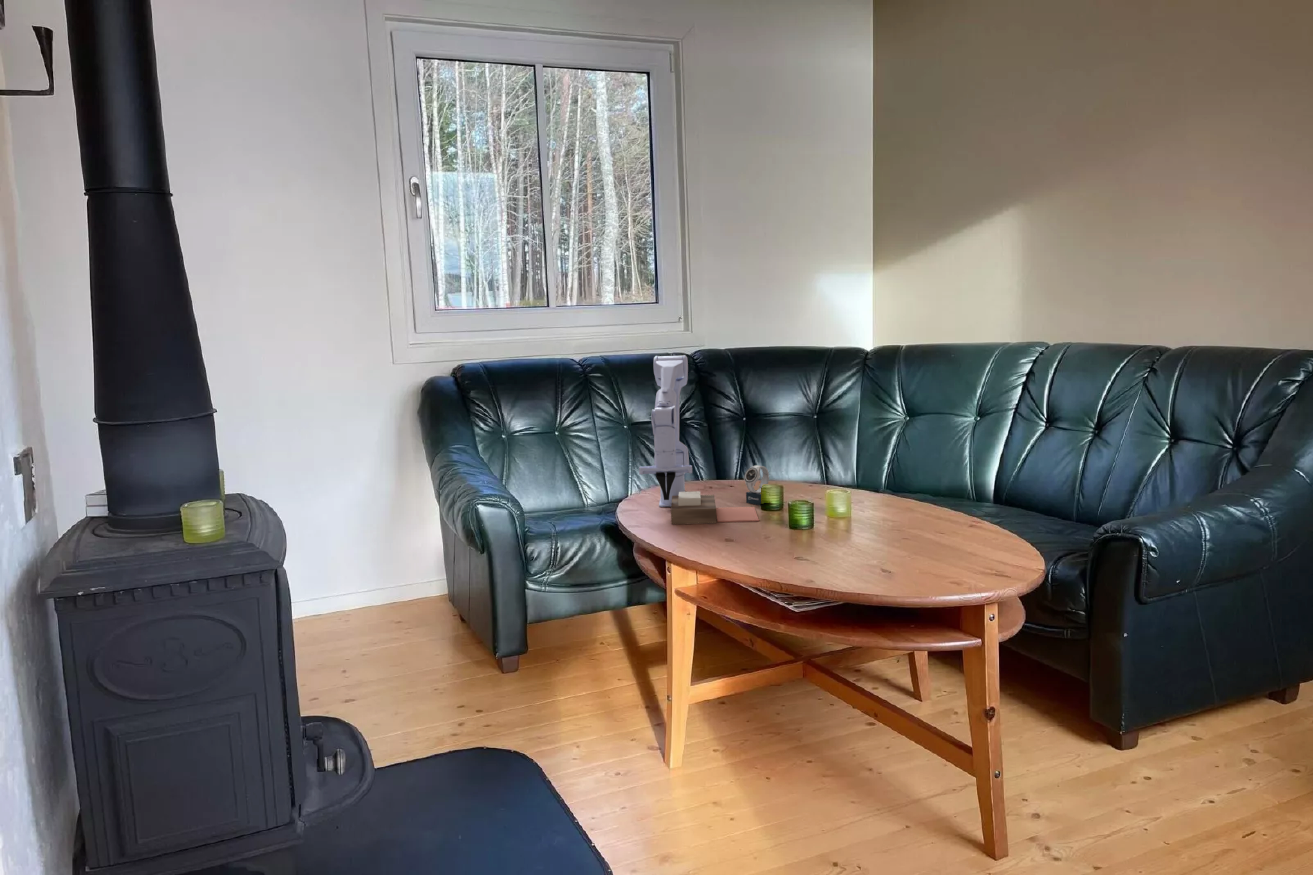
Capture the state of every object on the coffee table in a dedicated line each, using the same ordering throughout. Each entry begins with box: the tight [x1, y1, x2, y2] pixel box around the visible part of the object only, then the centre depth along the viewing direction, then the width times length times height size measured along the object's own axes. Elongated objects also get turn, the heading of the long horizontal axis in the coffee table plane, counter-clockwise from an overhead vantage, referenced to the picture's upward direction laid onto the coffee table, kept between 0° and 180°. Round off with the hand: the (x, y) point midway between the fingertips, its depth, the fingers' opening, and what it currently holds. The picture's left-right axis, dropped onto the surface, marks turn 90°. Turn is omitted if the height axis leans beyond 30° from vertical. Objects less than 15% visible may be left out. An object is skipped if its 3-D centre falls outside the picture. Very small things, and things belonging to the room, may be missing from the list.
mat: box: [716, 506, 760, 523], centre depth 232 cm, size 16×11×1 cm
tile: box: [678, 490, 701, 506], centre depth 232 cm, size 9×6×2 cm, turn 178°
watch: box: [743, 464, 770, 506], centre depth 246 cm, size 6×8×11 cm
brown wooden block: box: [670, 494, 717, 525], centre depth 233 cm, size 18×12×4 cm, turn 178°
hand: (666, 499), depth 233 cm, fingers closed
